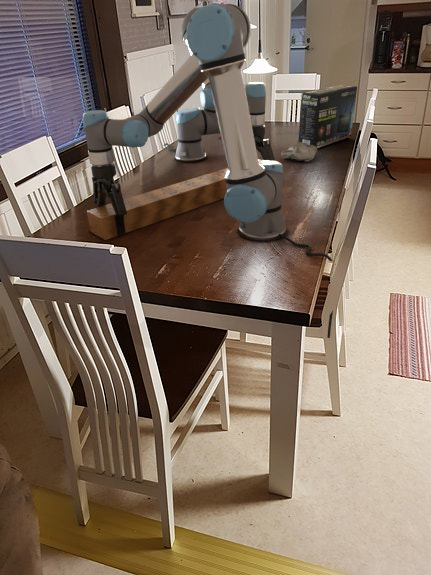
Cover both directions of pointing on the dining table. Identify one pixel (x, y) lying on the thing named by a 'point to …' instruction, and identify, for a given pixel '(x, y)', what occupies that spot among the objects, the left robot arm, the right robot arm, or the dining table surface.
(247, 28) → the right robot arm
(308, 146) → the fossil
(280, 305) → the dining table surface
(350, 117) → the router box
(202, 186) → the wooden beam
